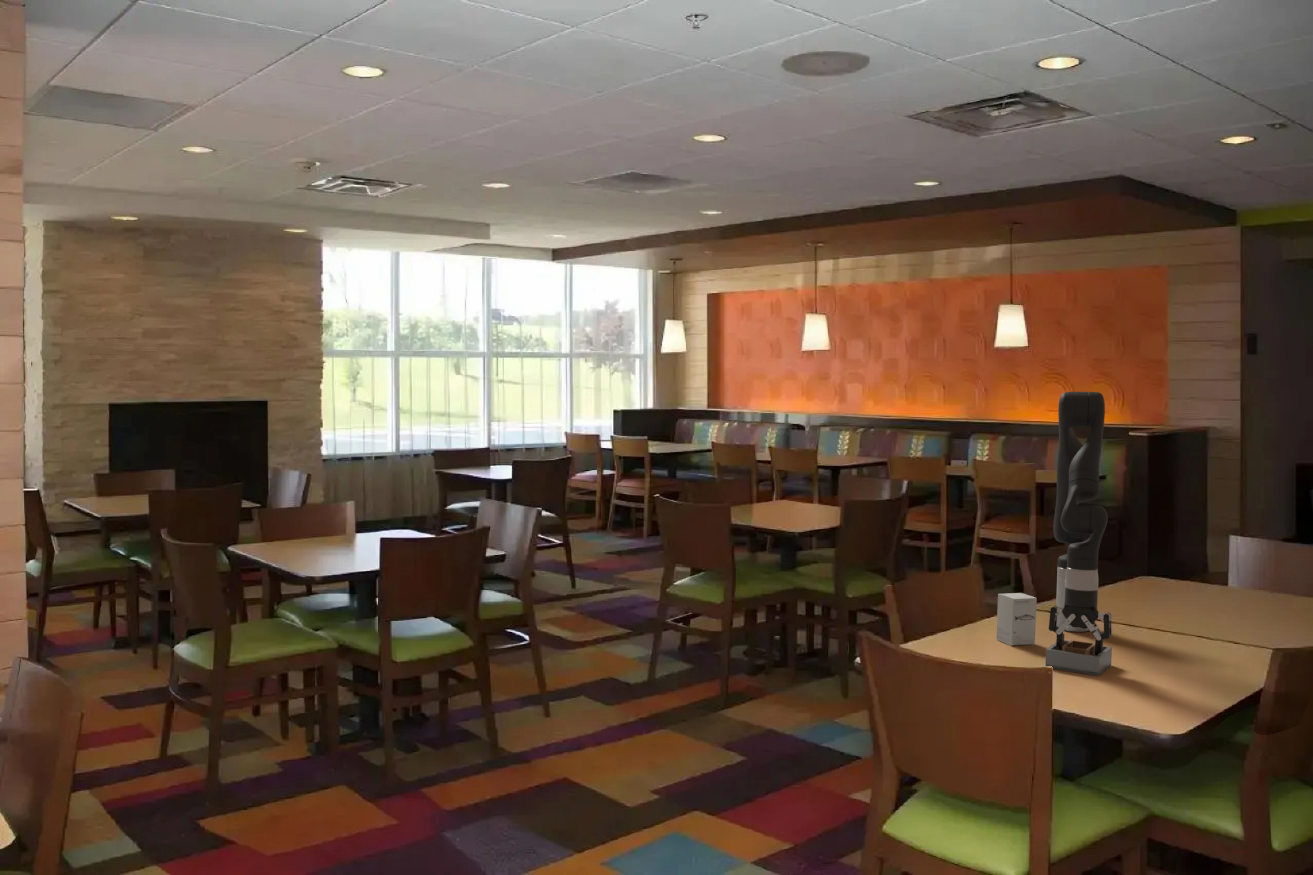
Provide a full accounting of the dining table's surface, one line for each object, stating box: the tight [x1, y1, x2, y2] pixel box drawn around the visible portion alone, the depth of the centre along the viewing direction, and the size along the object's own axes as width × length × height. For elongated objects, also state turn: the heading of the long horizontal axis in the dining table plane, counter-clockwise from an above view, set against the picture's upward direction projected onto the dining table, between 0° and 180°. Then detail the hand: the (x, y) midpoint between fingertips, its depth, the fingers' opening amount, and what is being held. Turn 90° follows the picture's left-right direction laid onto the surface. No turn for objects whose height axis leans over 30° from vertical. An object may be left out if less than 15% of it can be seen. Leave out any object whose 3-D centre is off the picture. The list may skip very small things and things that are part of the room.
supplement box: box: [995, 592, 1038, 647], centre depth 296 cm, size 7×7×13 cm
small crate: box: [1062, 639, 1096, 656], centre depth 272 cm, size 8×6×4 cm
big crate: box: [1044, 639, 1113, 677], centre depth 272 cm, size 12×12×4 cm
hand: (1079, 651), depth 272 cm, fingers open, 8 cm apart
